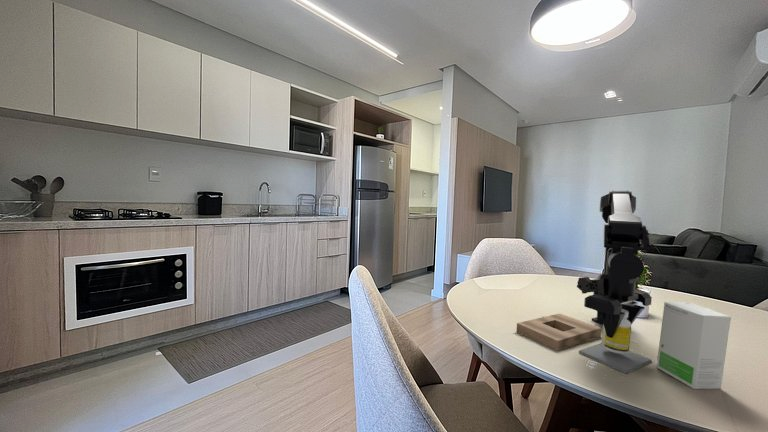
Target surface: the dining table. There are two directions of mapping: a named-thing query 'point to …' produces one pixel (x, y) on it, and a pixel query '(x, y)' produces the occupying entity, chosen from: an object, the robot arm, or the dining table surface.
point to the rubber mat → (616, 358)
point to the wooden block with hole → (558, 331)
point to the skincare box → (693, 344)
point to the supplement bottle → (618, 337)
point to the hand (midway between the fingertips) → (616, 335)
